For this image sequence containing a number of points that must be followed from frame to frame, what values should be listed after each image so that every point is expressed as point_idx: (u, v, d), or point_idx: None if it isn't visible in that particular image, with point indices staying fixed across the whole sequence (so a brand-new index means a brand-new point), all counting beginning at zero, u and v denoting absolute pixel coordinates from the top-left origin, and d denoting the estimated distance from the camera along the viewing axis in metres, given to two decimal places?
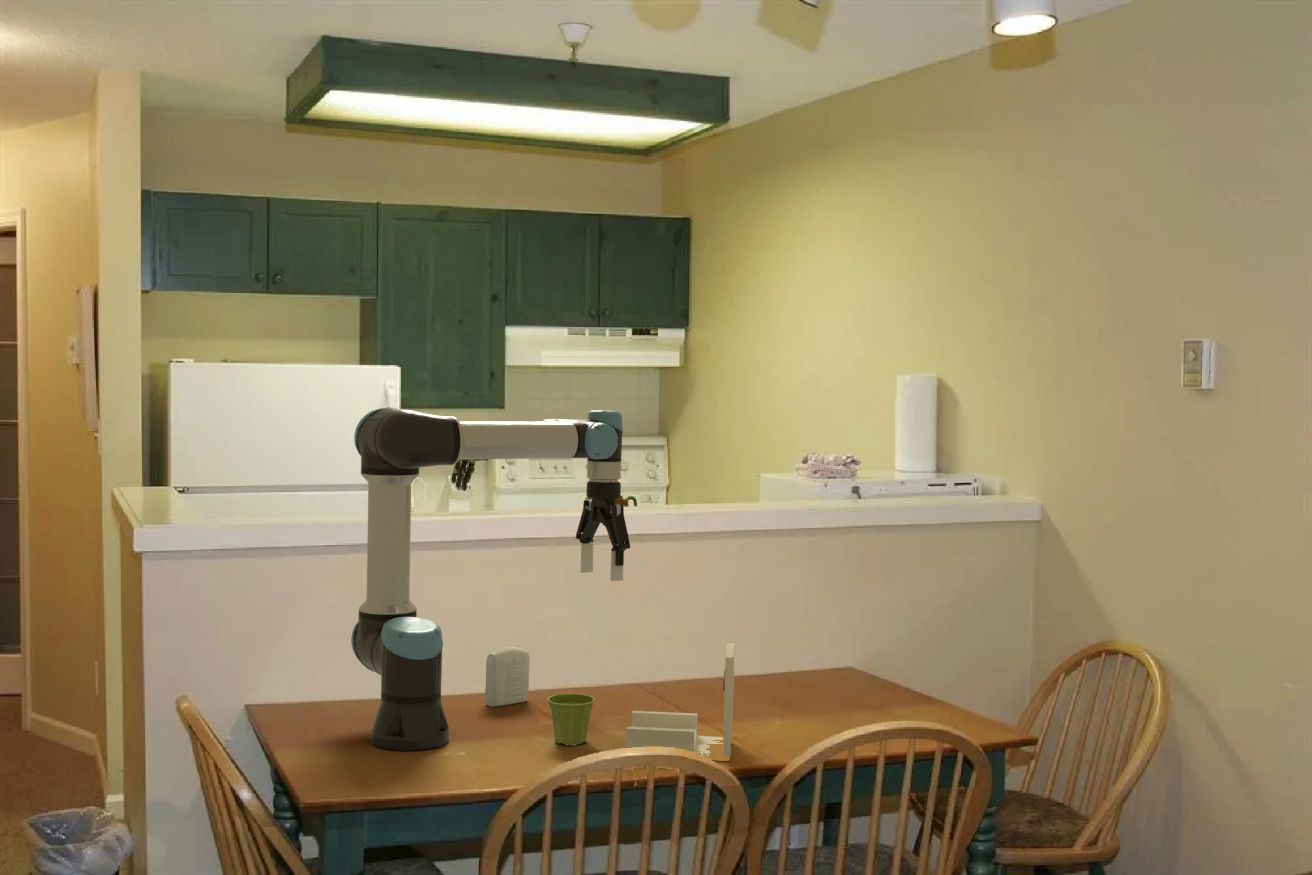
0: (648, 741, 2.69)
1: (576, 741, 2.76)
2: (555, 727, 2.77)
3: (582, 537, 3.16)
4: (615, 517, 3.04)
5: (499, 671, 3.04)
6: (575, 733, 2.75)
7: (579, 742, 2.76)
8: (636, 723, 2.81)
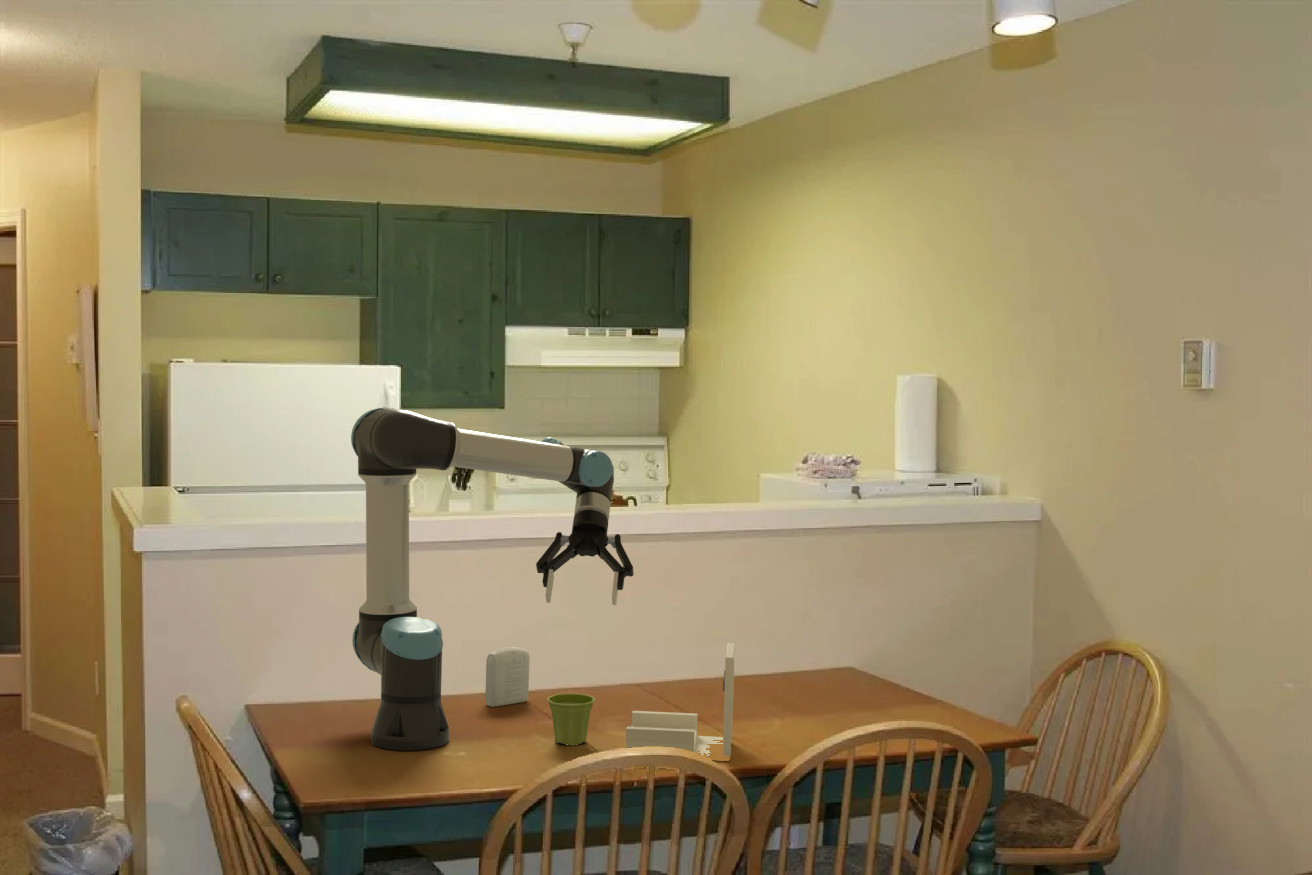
0: (648, 741, 2.69)
1: (576, 741, 2.76)
2: (555, 727, 2.77)
3: (551, 564, 2.93)
4: (621, 544, 2.96)
5: (499, 671, 3.04)
6: (575, 733, 2.75)
7: (579, 742, 2.76)
8: (636, 723, 2.81)
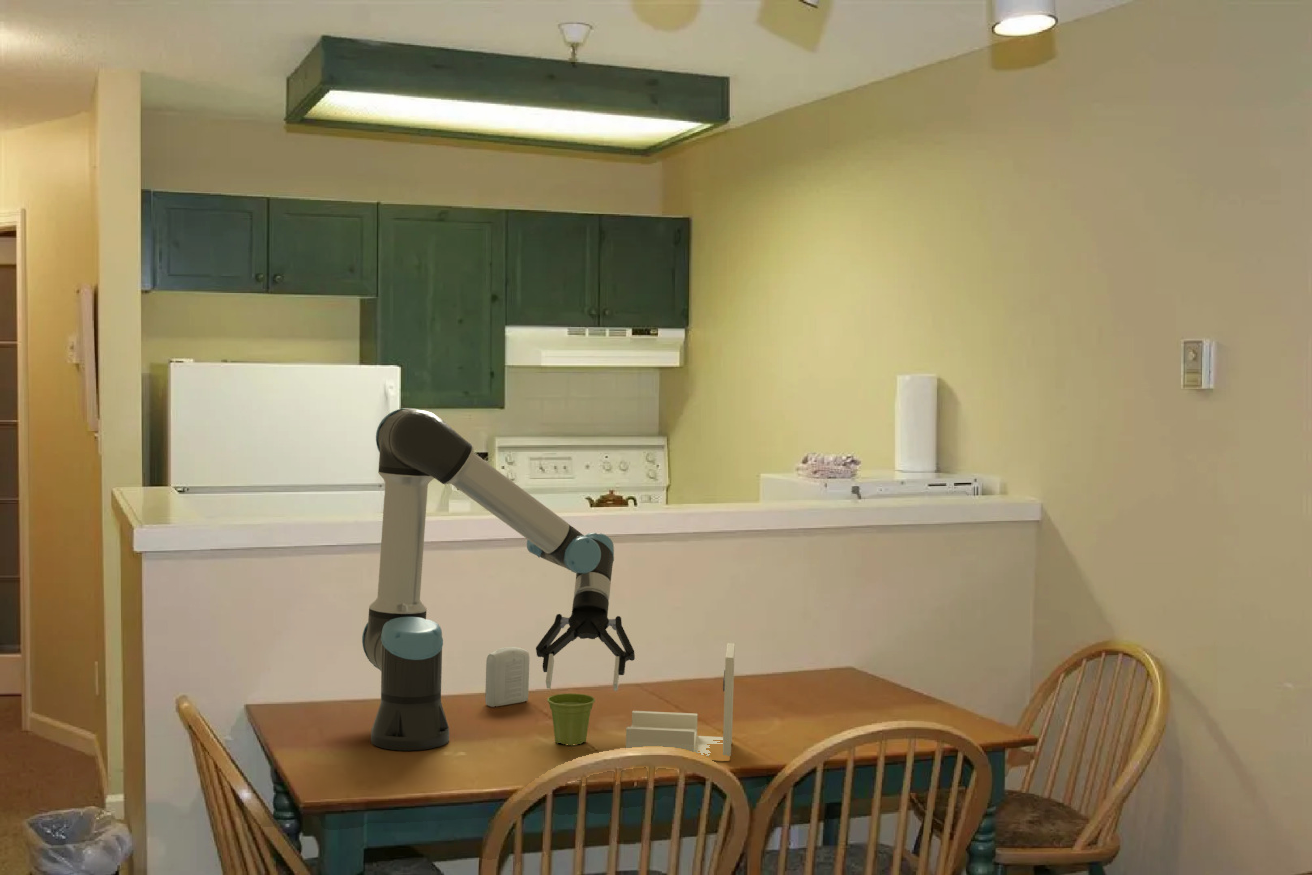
0: (648, 741, 2.69)
1: (576, 741, 2.76)
2: (555, 727, 2.77)
3: (551, 648, 2.88)
4: (622, 627, 2.92)
5: (499, 671, 3.04)
6: (575, 733, 2.75)
7: (579, 742, 2.76)
8: (636, 723, 2.81)
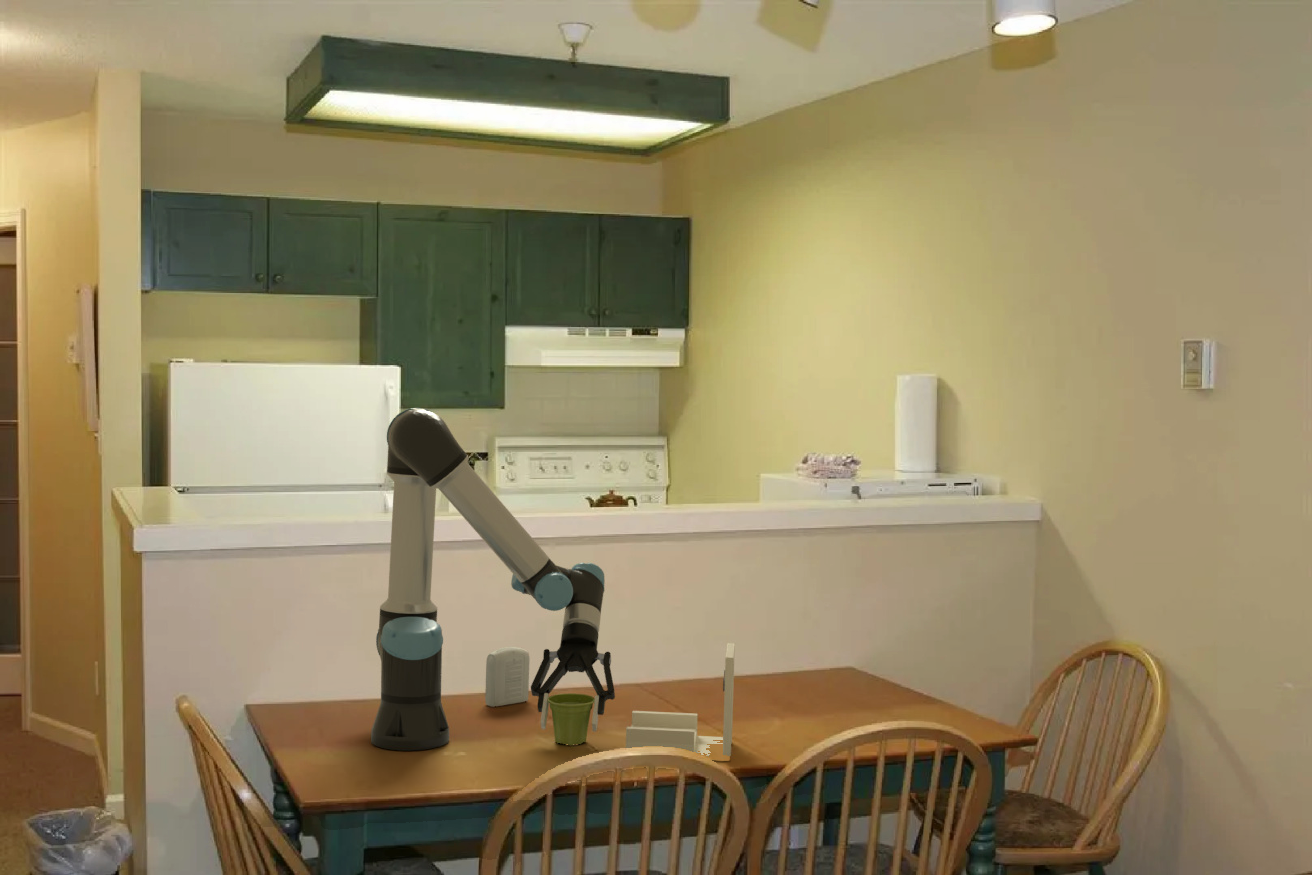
0: (648, 741, 2.69)
1: (576, 741, 2.76)
2: (555, 727, 2.77)
3: (545, 686, 2.80)
4: (609, 663, 2.84)
5: (499, 671, 3.04)
6: (575, 733, 2.75)
7: (579, 742, 2.76)
8: (636, 723, 2.81)
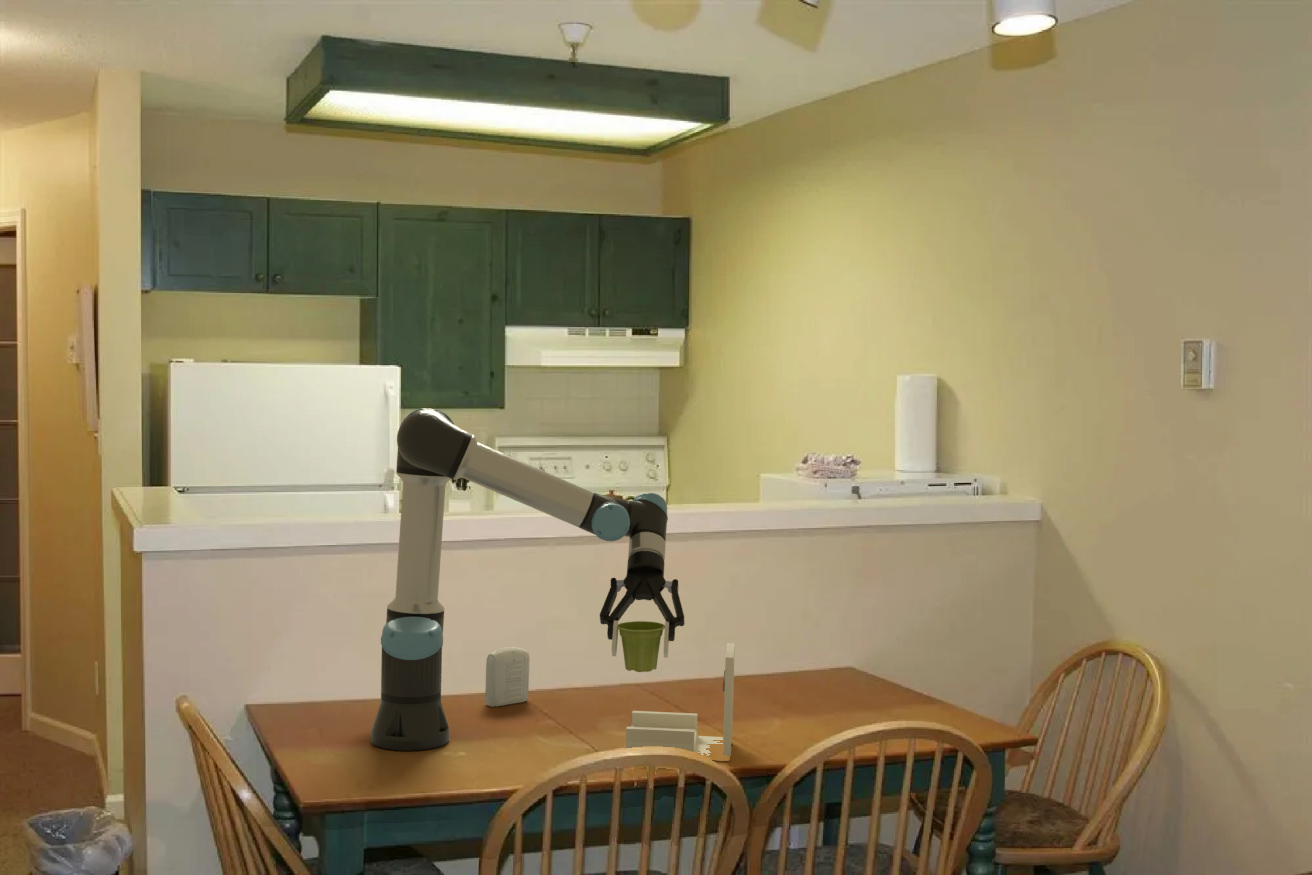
0: (648, 741, 2.69)
1: (647, 667, 2.74)
2: (626, 654, 2.74)
3: (614, 614, 2.78)
4: (677, 591, 2.81)
5: (499, 671, 3.04)
6: (647, 659, 2.73)
7: (650, 668, 2.74)
8: (636, 723, 2.81)
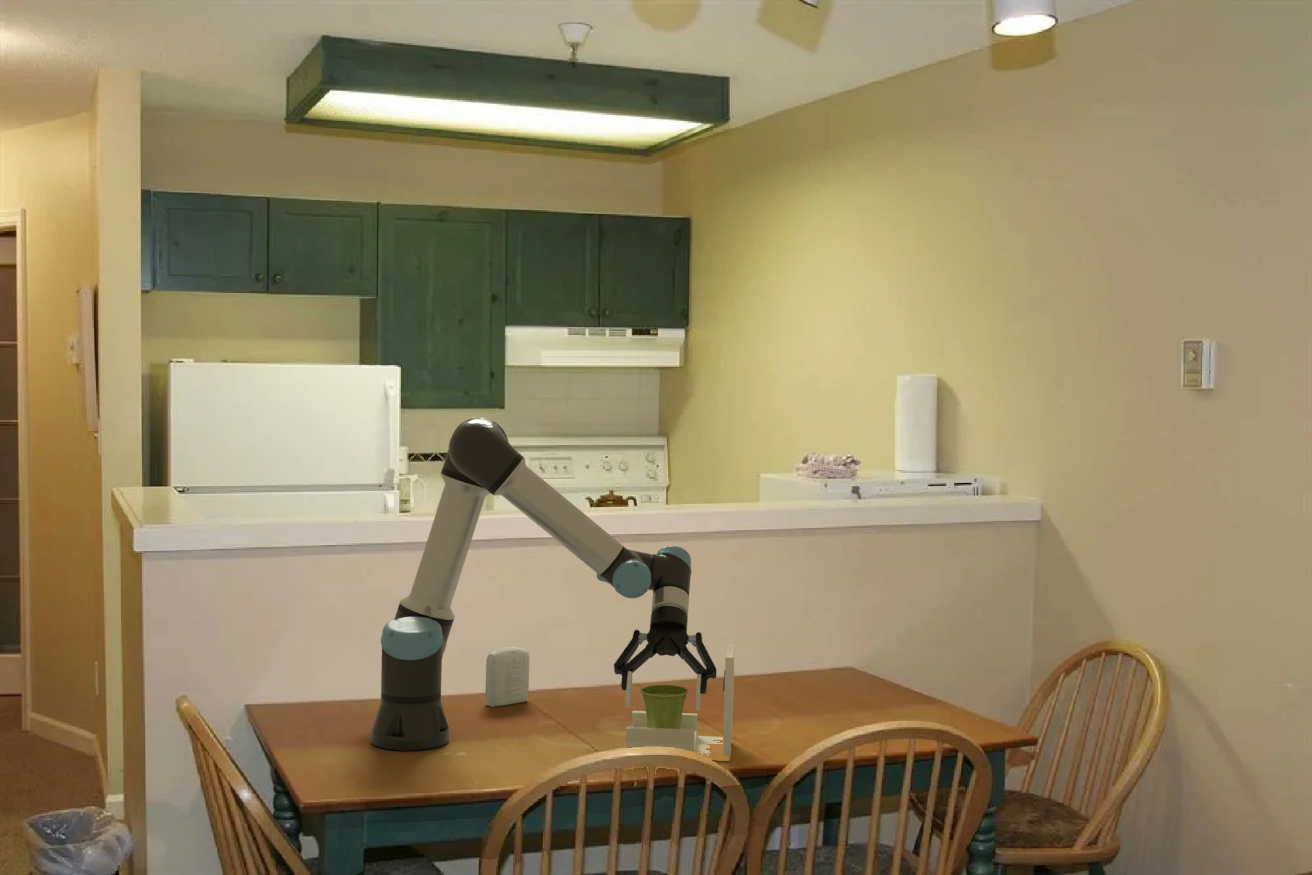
0: (648, 741, 2.69)
1: None
2: (649, 718, 2.73)
3: (629, 665, 2.78)
4: (703, 644, 2.81)
5: (499, 671, 3.04)
6: (670, 724, 2.72)
7: None
8: (636, 723, 2.81)
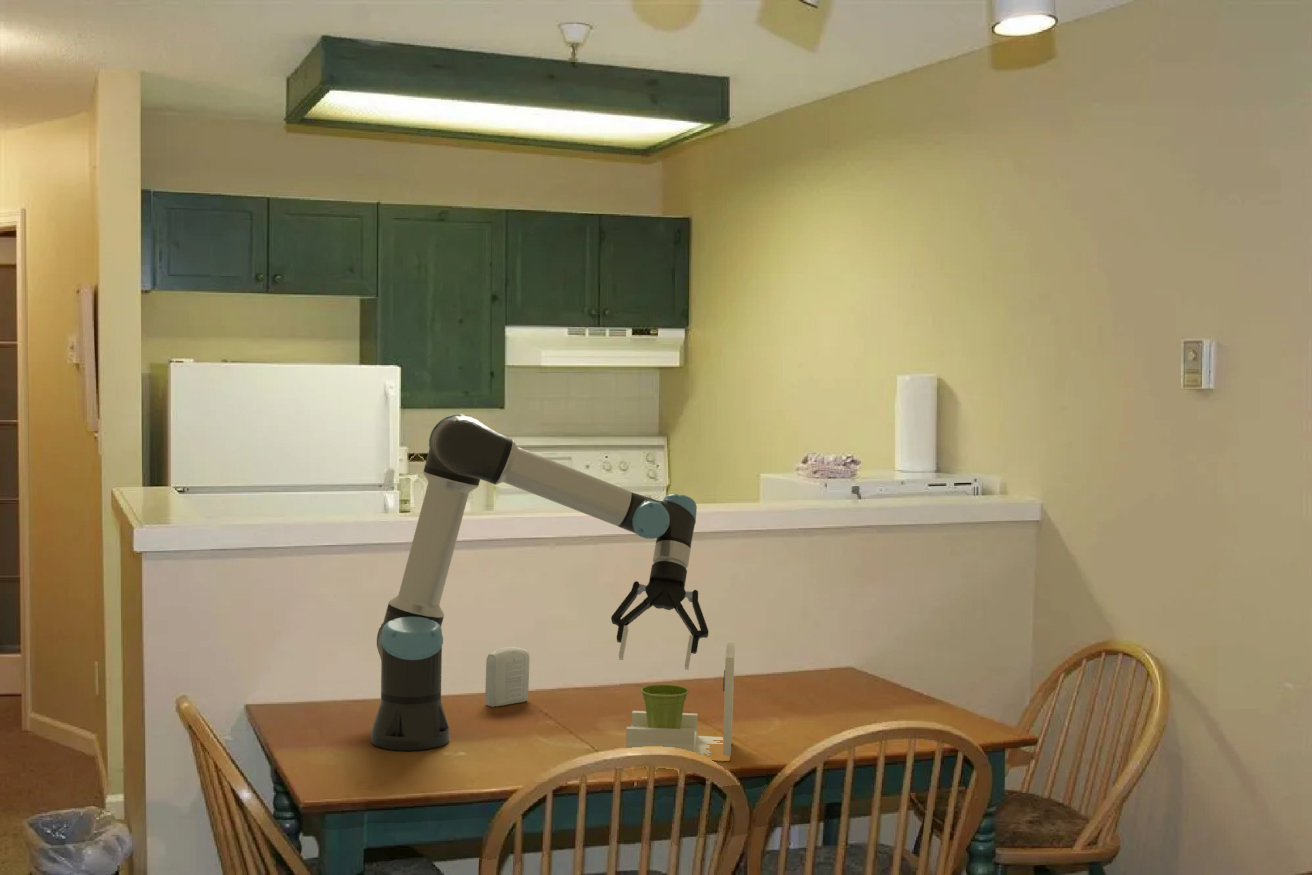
0: (648, 741, 2.69)
1: None
2: (649, 718, 2.73)
3: (626, 619, 2.90)
4: (698, 602, 2.92)
5: (499, 671, 3.04)
6: (670, 724, 2.72)
7: None
8: (636, 723, 2.81)
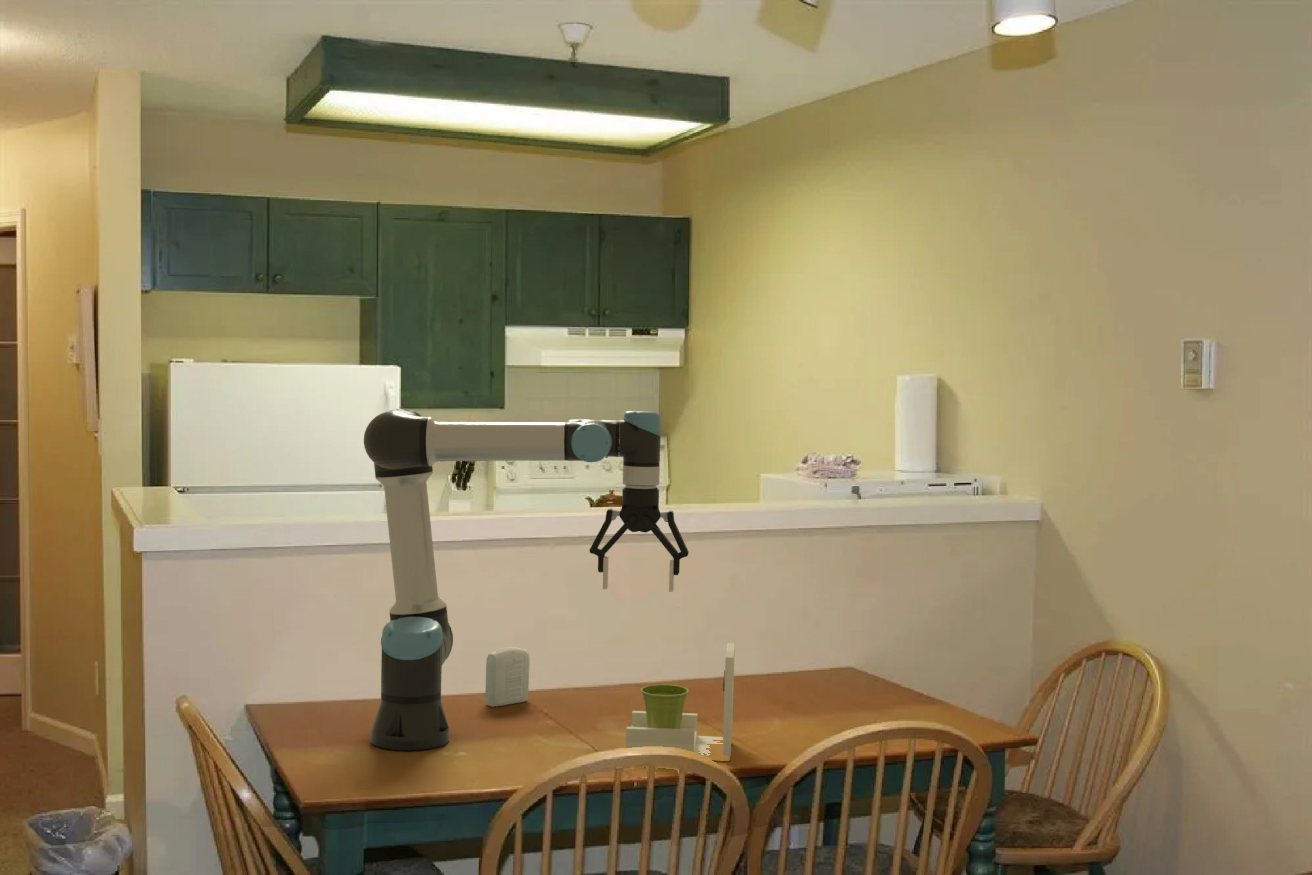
0: (648, 741, 2.69)
1: None
2: (649, 718, 2.73)
3: (604, 550, 2.88)
4: (674, 524, 2.87)
5: (499, 671, 3.04)
6: (670, 724, 2.72)
7: None
8: (636, 723, 2.81)
